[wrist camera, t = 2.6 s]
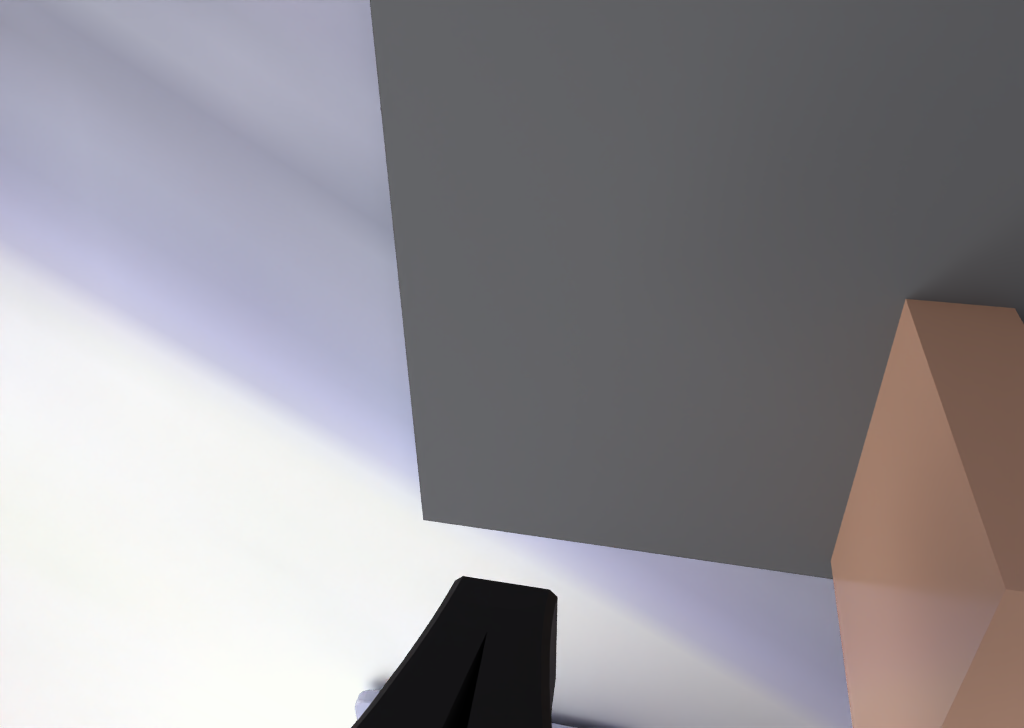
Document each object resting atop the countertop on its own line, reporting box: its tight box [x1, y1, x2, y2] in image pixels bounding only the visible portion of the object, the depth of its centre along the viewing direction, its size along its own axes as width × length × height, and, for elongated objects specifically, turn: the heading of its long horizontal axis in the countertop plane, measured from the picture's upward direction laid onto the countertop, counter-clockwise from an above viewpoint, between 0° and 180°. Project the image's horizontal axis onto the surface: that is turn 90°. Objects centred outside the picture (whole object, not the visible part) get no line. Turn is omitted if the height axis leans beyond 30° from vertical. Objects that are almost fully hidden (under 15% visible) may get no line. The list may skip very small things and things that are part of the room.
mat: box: [370, 0, 1024, 579], centre depth 14 cm, size 12×17×1 cm
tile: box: [831, 299, 1024, 728], centre depth 12 cm, size 6×2×6 cm, turn 1°
